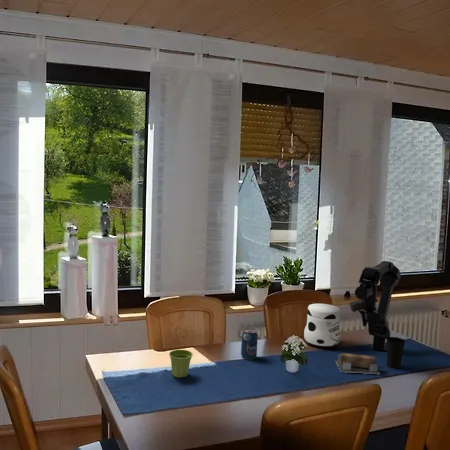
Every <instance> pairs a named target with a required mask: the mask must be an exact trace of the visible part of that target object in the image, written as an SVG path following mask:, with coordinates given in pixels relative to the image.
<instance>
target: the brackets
mask: <svg viewBox="0 0 450 450" xmlns="http://www.w3.org/2000/svg"><path fill="white" fill-rule="evenodd" d="M340 358H341V354H338V359H336V360H335V362H336V363H335V364H336V366H337V368H338V367H339V368H338V370H339V369H340V370H339V371H341V372H345V373H344V374H347V373H364V374H363V375H367V374H377V375H376V376H380V375H381V372H380V371H379V370H378V363H375V364H370V366H369V368H365V367H356V366H351V363H349V362H343V365H341V364H340ZM341 372H340V373H341Z"/></svg>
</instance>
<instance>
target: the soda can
mask: <svg viewBox="0 0 450 450" xmlns="http://www.w3.org/2000/svg"><path fill="white" fill-rule="evenodd" d="M258 336H259V335H258V333H257V330H256V329H253V328H244V329H243V331H242V333H241V345H240V346H241V349H240V355H241V357H242V358H243V359H244V360H250V361H251V360H255V359H256V357H257V355H258V339H259V337H258Z"/></svg>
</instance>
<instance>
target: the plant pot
mask: <svg viewBox="0 0 450 450" xmlns="http://www.w3.org/2000/svg"><path fill="white" fill-rule="evenodd" d="M193 355H194V354H193V352H192V351H190V350H187V349H174V350H170V351H169V352H168V356H169V357H170V364H171V375H173V377H175V378H178V379H180V378H185V377H188V375H189V370H190V369H189V368H190V364H191V360H192V357H193Z"/></svg>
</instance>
